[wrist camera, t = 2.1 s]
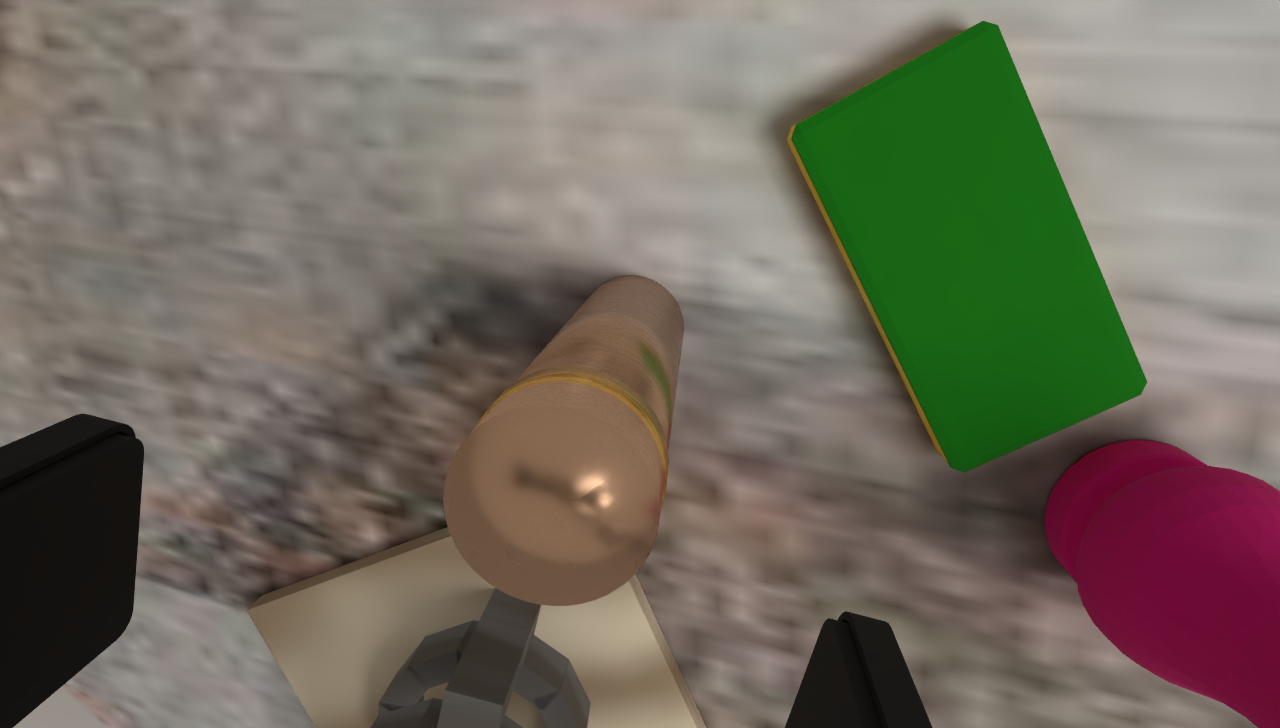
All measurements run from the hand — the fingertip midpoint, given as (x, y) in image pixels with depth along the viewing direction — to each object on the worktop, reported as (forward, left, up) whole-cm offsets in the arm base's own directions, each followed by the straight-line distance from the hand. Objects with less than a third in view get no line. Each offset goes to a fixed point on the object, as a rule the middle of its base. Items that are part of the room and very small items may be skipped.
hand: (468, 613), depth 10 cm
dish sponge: (-2, -12, -21) cm, 24 cm away
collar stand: (-13, +12, -20) cm, 27 cm away
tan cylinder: (0, 0, -20) cm, 20 cm away
